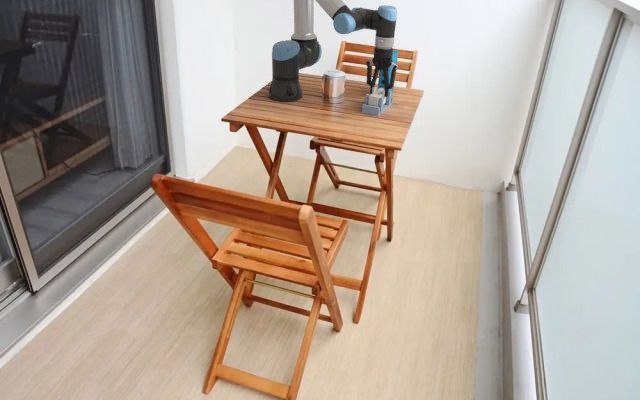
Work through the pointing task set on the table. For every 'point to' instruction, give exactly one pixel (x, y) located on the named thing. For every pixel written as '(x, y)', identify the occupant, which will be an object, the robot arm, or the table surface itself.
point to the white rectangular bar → (376, 97)
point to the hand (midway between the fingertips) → (378, 102)
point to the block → (381, 75)
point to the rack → (382, 107)
